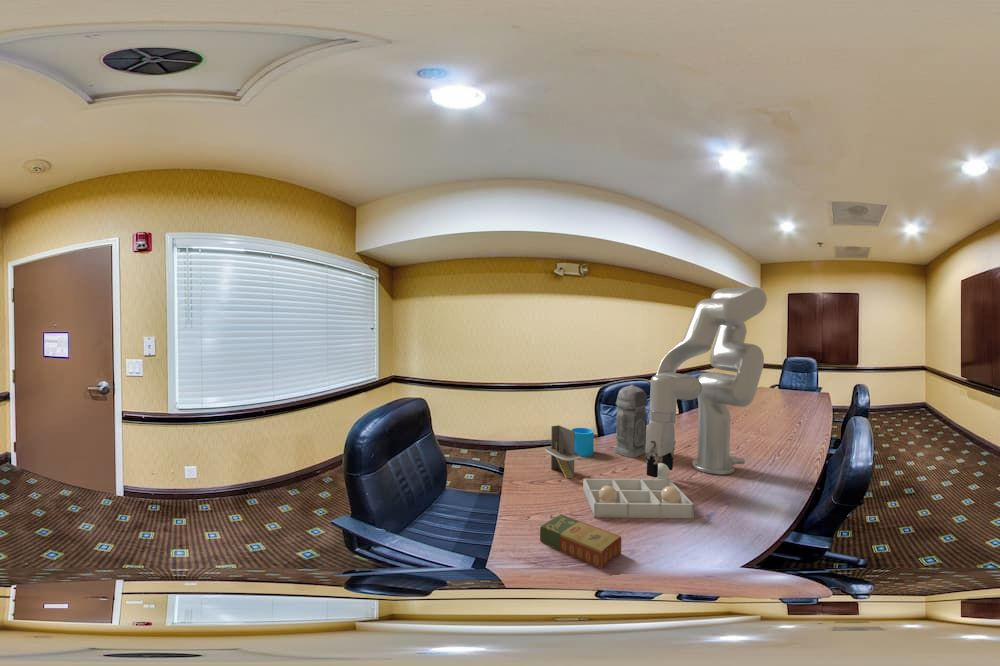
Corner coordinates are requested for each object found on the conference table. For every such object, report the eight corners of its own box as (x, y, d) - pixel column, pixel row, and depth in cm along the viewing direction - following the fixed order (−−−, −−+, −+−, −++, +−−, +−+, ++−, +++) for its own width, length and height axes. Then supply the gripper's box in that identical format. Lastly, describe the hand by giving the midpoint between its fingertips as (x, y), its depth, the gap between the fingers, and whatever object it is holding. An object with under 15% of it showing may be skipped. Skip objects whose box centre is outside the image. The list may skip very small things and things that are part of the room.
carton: (601, 571, 92) (601, 550, 92) (538, 542, 103) (539, 524, 103) (621, 554, 98) (621, 535, 98) (560, 529, 109) (560, 512, 109)
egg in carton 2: (675, 504, 121) (676, 483, 120) (682, 512, 116) (682, 490, 116) (658, 504, 121) (658, 483, 121) (664, 512, 116) (664, 490, 116)
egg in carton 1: (614, 503, 121) (614, 482, 121) (618, 511, 116) (619, 489, 116) (597, 503, 121) (597, 482, 121) (600, 511, 116) (601, 489, 116)
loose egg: (666, 479, 140) (666, 460, 140) (671, 484, 136) (672, 466, 135) (651, 478, 140) (651, 460, 140) (656, 484, 136) (656, 466, 135)
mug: (582, 448, 171) (582, 426, 170) (598, 453, 164) (598, 431, 164) (558, 453, 164) (558, 431, 164) (573, 460, 158) (573, 436, 157)
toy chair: (558, 494, 129) (558, 443, 128) (515, 466, 151) (515, 423, 151) (612, 482, 138) (613, 435, 137) (564, 458, 160) (565, 417, 159)
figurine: (652, 451, 167) (653, 384, 165) (629, 459, 158) (630, 388, 156) (629, 445, 174) (630, 380, 173) (606, 452, 165) (607, 384, 164)
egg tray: (669, 491, 131) (669, 479, 131) (693, 518, 114) (694, 504, 114) (582, 490, 131) (583, 478, 131) (594, 517, 114) (594, 503, 114)
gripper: (663, 410, 145) (661, 463, 146) (636, 418, 133) (633, 475, 134) (686, 414, 140) (684, 469, 141) (660, 423, 128) (658, 483, 129)
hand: (659, 472), depth 137 cm, fingers open, 9 cm apart
